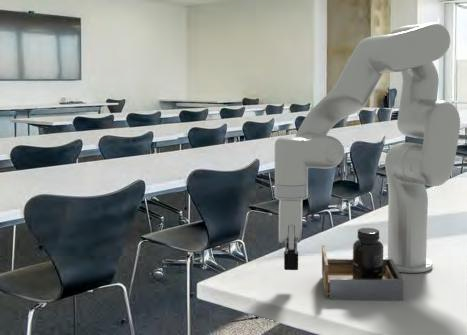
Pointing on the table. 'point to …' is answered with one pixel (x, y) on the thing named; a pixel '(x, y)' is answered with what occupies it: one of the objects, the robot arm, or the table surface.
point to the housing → (366, 285)
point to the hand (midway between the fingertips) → (291, 268)
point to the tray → (342, 271)
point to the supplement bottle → (368, 255)
